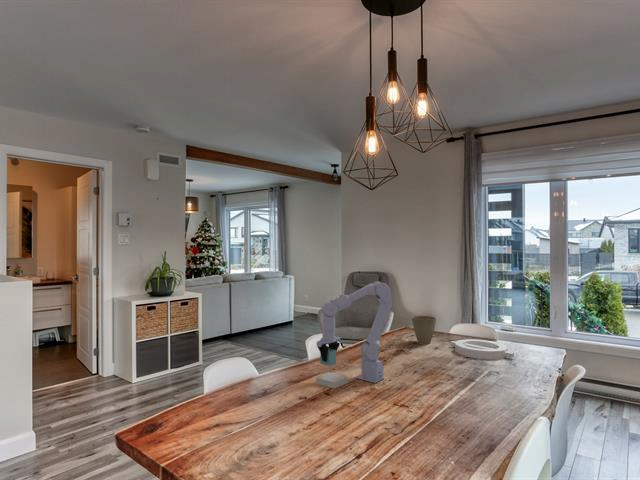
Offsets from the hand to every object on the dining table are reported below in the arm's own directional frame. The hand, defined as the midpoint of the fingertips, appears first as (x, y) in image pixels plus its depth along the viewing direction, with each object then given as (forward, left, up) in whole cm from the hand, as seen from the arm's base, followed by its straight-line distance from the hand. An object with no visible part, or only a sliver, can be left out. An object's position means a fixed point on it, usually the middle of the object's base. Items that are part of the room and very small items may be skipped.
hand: (328, 359), depth 177 cm
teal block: (0, 0, -2) cm, 2 cm away
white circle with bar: (-36, -96, -10) cm, 103 cm away
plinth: (-4, +2, -9) cm, 10 cm away
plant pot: (-1, -96, -9) cm, 96 cm away
